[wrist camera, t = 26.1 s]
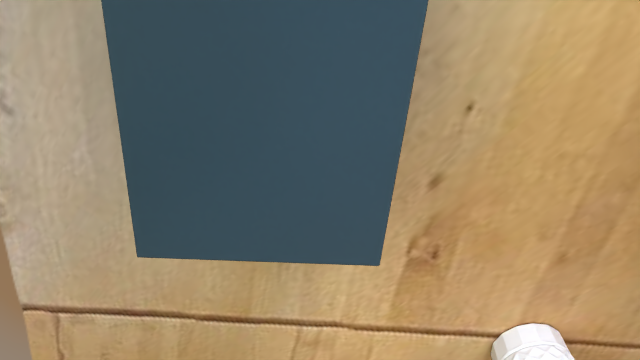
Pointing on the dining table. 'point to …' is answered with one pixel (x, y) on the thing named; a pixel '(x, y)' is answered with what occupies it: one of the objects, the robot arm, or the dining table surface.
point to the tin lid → (262, 124)
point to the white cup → (530, 344)
